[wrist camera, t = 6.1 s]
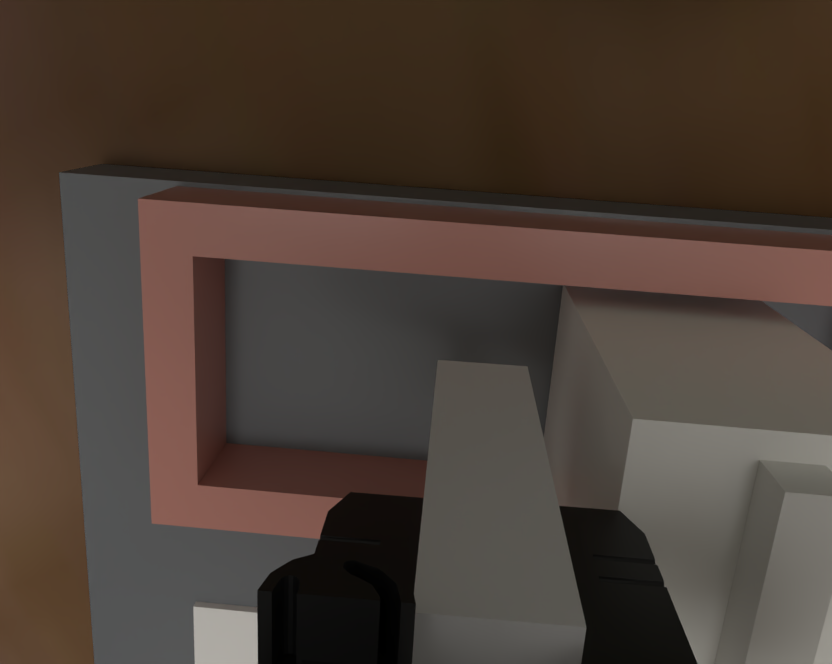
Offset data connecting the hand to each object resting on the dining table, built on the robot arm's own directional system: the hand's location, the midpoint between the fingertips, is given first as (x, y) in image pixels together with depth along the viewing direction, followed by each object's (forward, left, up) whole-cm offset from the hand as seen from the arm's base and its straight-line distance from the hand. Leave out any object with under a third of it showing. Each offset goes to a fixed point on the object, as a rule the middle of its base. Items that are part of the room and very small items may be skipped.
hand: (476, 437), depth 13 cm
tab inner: (0, +4, -4) cm, 5 cm away
